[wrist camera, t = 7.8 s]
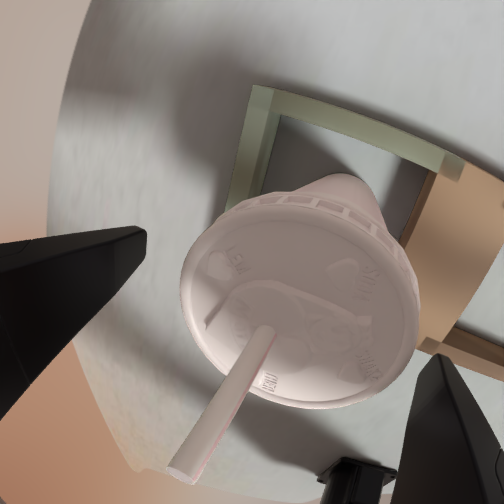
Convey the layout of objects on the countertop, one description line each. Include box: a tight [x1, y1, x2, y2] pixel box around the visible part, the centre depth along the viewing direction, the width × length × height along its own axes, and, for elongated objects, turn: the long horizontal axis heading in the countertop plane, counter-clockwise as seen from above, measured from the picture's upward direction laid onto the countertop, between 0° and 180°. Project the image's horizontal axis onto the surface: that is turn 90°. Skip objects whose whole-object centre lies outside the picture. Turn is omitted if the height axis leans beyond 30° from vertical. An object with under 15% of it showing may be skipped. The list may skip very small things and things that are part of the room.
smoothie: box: [166, 173, 421, 484], centre depth 10 cm, size 6×6×14 cm
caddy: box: [224, 85, 504, 382], centre depth 14 cm, size 10×22×2 cm, turn 75°
